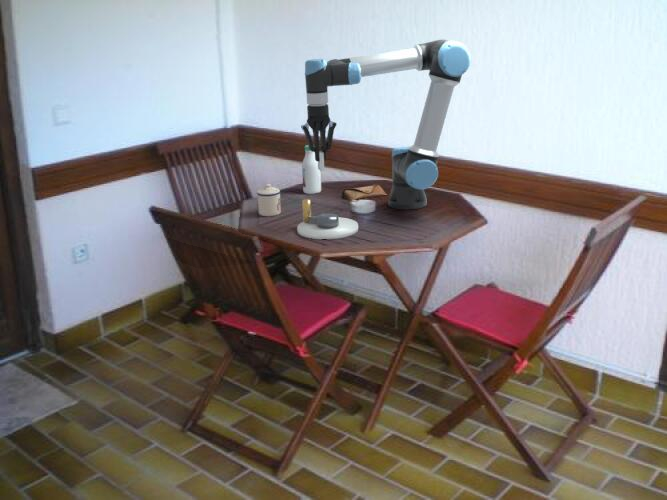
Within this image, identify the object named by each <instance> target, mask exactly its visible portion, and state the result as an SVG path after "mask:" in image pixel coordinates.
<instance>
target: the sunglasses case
mask: <svg viewBox="0 0 667 500" xmlns="http://www.w3.org/2000/svg"><path fill="white" fill-rule="evenodd" d="M341 193H342V194H341V195H342V196H341V197H342V198H343V197H344V198H343V199H345V198H346V199H345V200H347V199H348V200H347V201H350V200H351V201H350V202H353V201H352V200H357V201H360V200H359V199H363V200H366V199H365V198H368V199H372V198H371V197H374V198H379V197H378V196H380V197H384V196H383V195H387V196H388V193H386V192H385V191H384V189H383V188H382V187H381V185H380V183H376V184H373V185H367V186H360V187H354V188H353V187H352V188H347V189H344V190H343V191H342V192H341Z"/></svg>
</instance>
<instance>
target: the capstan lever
mask: <svg viewBox="0 0 667 500" xmlns="http://www.w3.org/2000/svg"><path fill="white" fill-rule="evenodd" d="M301 201H302V202H301V203H302V204H301V205H302V219H303V220H302V222H309V223H315V224H317V226H318V227H321V228H332V227H336V226H338V225H339V214H336V213H328V212H327V213H320V214H317V215H316V216H315V215H312V205H311V203H312V202H311V199H309V198H303V199H302V200H301Z"/></svg>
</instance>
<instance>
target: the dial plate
mask: <svg viewBox="0 0 667 500" xmlns="http://www.w3.org/2000/svg"><path fill="white" fill-rule="evenodd" d="M338 217H339V216H338ZM296 229H297V230H296V231H297V234H298V235H299V236H301V237H303V238H307V239H311V238H312V239H313V240H322V239H327V240H337V239H342V238H343V239H344V238H346V237H350V236H353V235H355V234H356V233H358V231H359V224H358V222H357V221H356V220H354V219H351V218H347V217H339V225H338V226H336V227H332V228H321V227H318V226H317V224H315V223H309V222H303V221H302V222H300V223H299V224H297V226H296Z"/></svg>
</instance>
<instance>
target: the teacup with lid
mask: <svg viewBox="0 0 667 500" xmlns="http://www.w3.org/2000/svg"><path fill="white" fill-rule="evenodd" d="M256 195H257V204H258V205H257V207H258V214H259V216H262V217H274V216H279V215H280V214H281V213H282V207H281V190H280V189H279V188H277V187H275V186H271V183H266V184H265V186H264V187H262V188H260V189H258V190H257V191H256Z"/></svg>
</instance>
